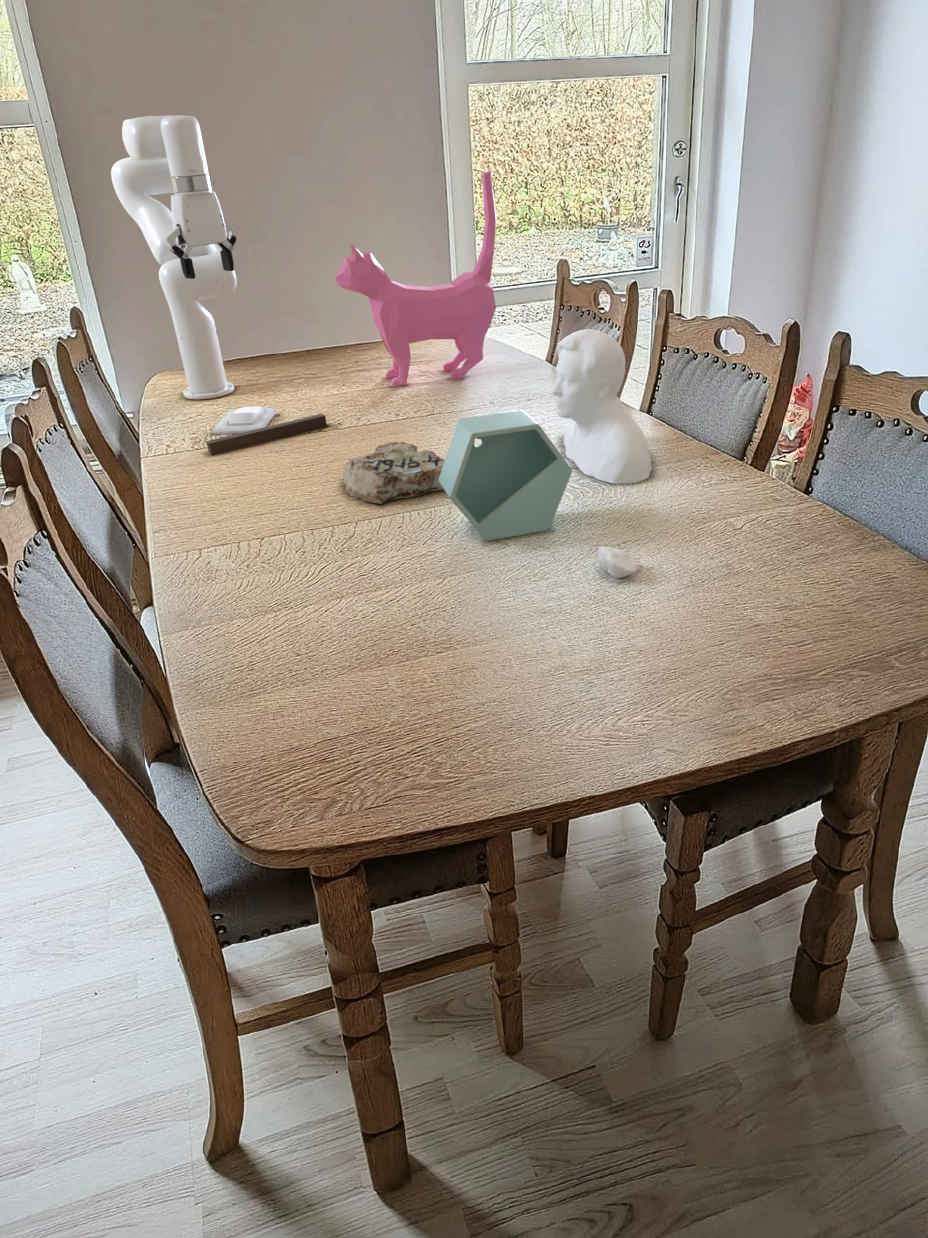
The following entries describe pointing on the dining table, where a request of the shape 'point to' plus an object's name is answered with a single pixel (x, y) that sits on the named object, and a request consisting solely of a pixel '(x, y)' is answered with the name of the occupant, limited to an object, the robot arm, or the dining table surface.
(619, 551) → the dumpling
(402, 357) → the cat
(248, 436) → the back rail
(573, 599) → the dining table surface
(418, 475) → the stone
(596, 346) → the bust
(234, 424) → the light switch
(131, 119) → the robot arm
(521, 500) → the planter
